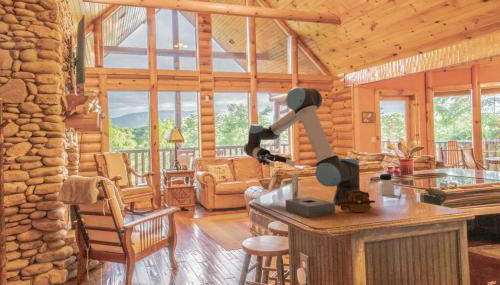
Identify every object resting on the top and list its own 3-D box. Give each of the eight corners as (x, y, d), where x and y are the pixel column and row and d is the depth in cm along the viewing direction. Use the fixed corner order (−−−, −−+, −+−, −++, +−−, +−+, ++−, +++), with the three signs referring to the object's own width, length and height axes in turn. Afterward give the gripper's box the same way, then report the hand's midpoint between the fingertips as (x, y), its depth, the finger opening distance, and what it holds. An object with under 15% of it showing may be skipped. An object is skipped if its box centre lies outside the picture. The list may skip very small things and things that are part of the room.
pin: (299, 205, 193) (298, 174, 192) (298, 206, 190) (297, 174, 189) (293, 205, 194) (292, 174, 193) (291, 206, 191) (290, 174, 190)
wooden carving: (339, 213, 170) (339, 191, 169) (337, 211, 174) (337, 190, 174) (376, 213, 169) (376, 190, 169) (373, 211, 173) (373, 189, 173)
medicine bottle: (394, 195, 213) (394, 174, 213) (381, 195, 213) (381, 174, 213) (390, 193, 220) (389, 173, 220) (377, 193, 221) (377, 173, 220)
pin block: (285, 210, 181) (285, 199, 181) (310, 207, 187) (309, 197, 187) (308, 217, 163) (308, 206, 163) (335, 214, 169) (334, 203, 169)
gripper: (278, 160, 223) (300, 170, 206) (242, 161, 210) (263, 172, 193) (280, 148, 222) (303, 157, 205) (244, 148, 209) (265, 158, 191)
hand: (283, 164), depth 199 cm, fingers open, 13 cm apart
